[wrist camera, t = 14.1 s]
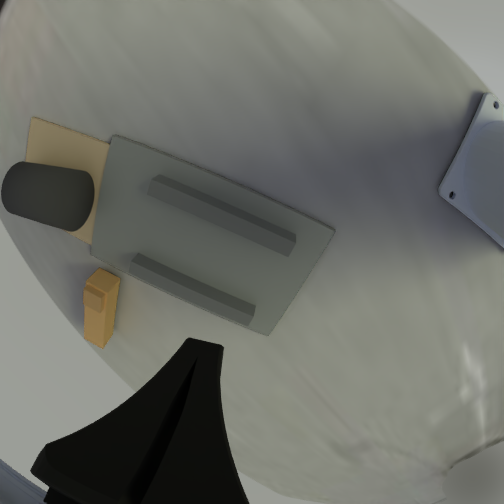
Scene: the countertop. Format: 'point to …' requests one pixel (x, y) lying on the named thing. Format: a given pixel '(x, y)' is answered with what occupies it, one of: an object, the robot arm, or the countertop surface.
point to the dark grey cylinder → (49, 194)
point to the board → (187, 227)
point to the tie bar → (100, 306)
